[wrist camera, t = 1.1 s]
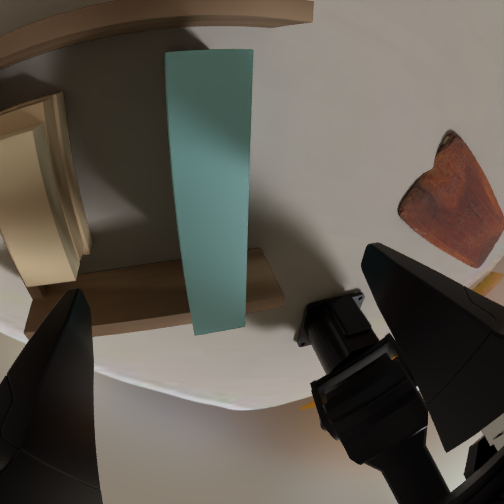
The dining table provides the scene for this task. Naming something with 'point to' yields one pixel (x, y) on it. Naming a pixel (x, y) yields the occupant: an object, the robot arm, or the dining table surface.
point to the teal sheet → (211, 178)
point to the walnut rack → (164, 273)
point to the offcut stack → (41, 192)
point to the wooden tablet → (455, 205)
